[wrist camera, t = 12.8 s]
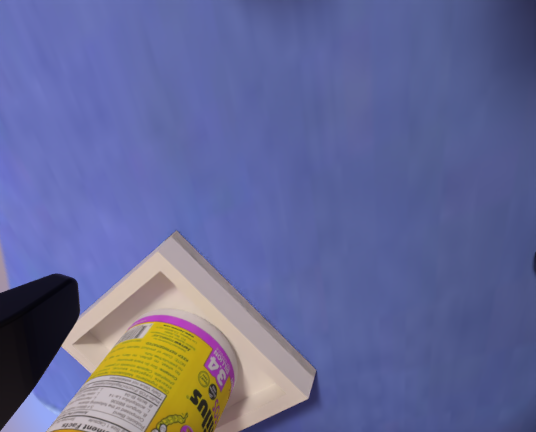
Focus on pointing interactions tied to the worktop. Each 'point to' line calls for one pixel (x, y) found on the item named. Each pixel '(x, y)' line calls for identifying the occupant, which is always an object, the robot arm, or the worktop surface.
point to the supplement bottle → (157, 379)
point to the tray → (211, 309)
